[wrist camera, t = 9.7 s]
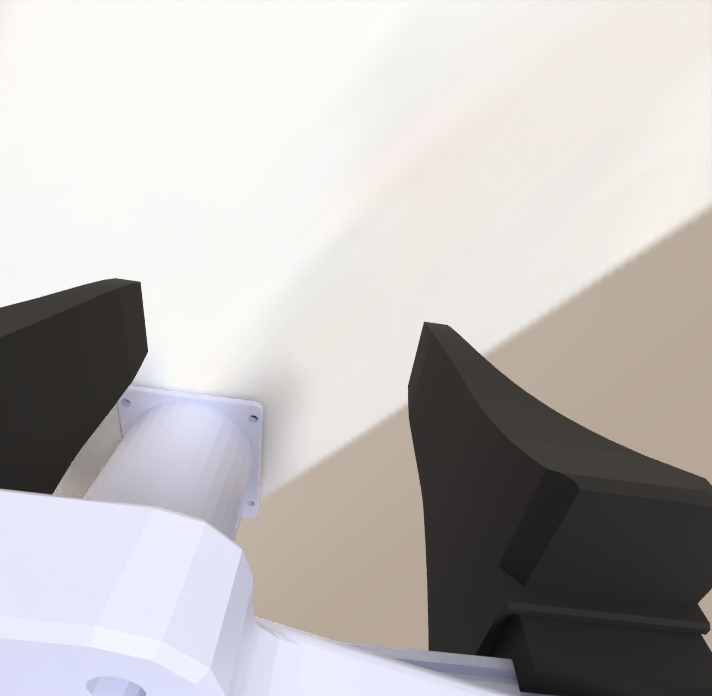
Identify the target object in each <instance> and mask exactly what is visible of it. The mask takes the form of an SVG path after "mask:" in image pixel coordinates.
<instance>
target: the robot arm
mask: <svg viewBox="0 0 712 696" xmlns="http://www.w3.org/2000/svg"><path fill="white" fill-rule="evenodd" d="M147 353H148V346H147V337H146V328H145V319H144V310H143V301H142V292H141V282H138V281H131V280H123V279H116V278H115V279H107V280H102V281H98V282H93V283H89V284H86V285H82V286H78V287H75V288H71V289H68V290H64V291H61V292H57V293H54V294H50V295H47V296H43V297H40V298H36V299H32V300H28V301H25V302H21V303H17V304H13V305H9V306H5V307H1V308H0V696H712V652H711V650H710V649H709V647H708V646H707V644H706V642H705V640H704V639H703V637H702V635H701V634H705V635H706V634H707V633H708V632H709V631H710V623H709V621H708V620H707V618H706V617H705V615H704V613H703V612H702V610H701V609H700V607H699V605H698V603H699V601H700V600H701V599H702V598H703V597H704V596H705V595H706V594H707V593H708V592H709V591H710V590H711V589H712V485H711V484H710V483H709V482H708V481H707V480H706V479H705V478H703V477H700V476H697V475H695V474H692V473H689V472H687V471H684V470H681V469H679V468H676V467H673V466H671V465H668V464H666V463H663V462H660V461H658V460H655V459H652V458H650V457H647V456H645V455H642V454H640V453H638V452H635V451H633V450H631V449H629V448H626V447H624V446H622V445H620V444H617V443H615V442H613V441H611V440H608V439H607V438H605V437H603V436H600V435H599V434H597V433H594V432H592V431H590V430H589V429H587V428H585V427H583V426H581V425H579V424H577V423H576V422H574V421H572V420H570V419H568V418H566V417H565V416H563V415H561V414H560V413H558V412H556V411H555V410H553V409H551V408H550V407H548V406H547V405H545V404H544V403H542V402H541V401H539V400H538V399H536V398H535V397H533V396H531V395H530V394H529V393H527V392H526V391H524V390H523V389H522V388H520V387H519V386H517V385H516V384H515V383H514V382H512V381H511V380H510V379H509V378H507V377H506V376H505V375H504V374H502V373H501V372H500V371H499V370H498V369H496V368H495V367H494V366H493V365H492V364H491V363H489V362H488V361H487V360H486V359H485V358H484V357H483V356H482V355H481V354H479V353H478V352H477V351H476V350H475V349H474V348H473V347H472V346H471V345H470V344H469V343H468V342H467V341H465V340H464V339H463V338H462V337H461V336H460V335H459V334H458V333H457V332H456V331H455V330H453V329H452V328H451V327H449V326H448V325H443V324H436V323H429V322H424V325H423V329H422V332H421V336H420V340H419V344H418V348H417V352H416V356H415V360H414V364H413V368H412V372H411V376H410V380H409V384H408V408H409V421H410V428H411V433H412V439H413V445H414V451H415V456H416V462H417V467H418V473H419V479H420V485H421V491H422V498H423V509H424V525H425V541H426V564H427V587H428V588H427V590H428V628H429V651H425V650H415V649H405V648H395V647H385V646H376V645H366V644H356V643H345V642H338V641H334V640H331V639H328V638H324V637H321V636H318V635H315V634H312V633H308V632H305V631H302V630H298V629H295V628H292V627H288V626H285V625H282V624H278V623H275V622H272V621H269V620H266V619H262V618H259V617H256V616H254V615H253V609H252V606H253V585H254V579H253V576H252V574H251V571H250V569H249V566H248V564H247V561H246V559H245V556H244V553H243V551H242V549H241V548H240V547H239V546H238V545H237V544H236V543H235V542H234V540H235V537H236V533H237V530H238V526H239V523H240V520H241V518H255V517H257V515H258V512H259V497H260V477H261V457H262V437H263V417H264V407H263V405H262V404H261V403H259V402H257V401H251V400H243V399H235V398H227V397H220V396H212V395H204V394H196V393H188V392H181V391H173V390H165V389H157V388H150V387H142V386H134V385H130V384H131V383H132V381H133V379H134V378H135V376H136V374H137V372H138V370H139V369H140V367H141V365H142V363H143V361H144V359H145V357H146V355H147ZM125 399H126V400H128V401H130V402H127V401H126V400H125ZM116 403H117V405H118V412H119V418H120V424H121V430H122V436H123V439H122V441H121V442H120V444H119V445H118V447H117V448H116V450H115V451H114V452H113V454H112V455H111V457H110V458H109V460H108V461H107V463H106V464H105V466H104V467H103V468H102V470H101V471H100V473H99V474H98V476H97V477H96V479H95V480H94V482H93V483H92V485H91V486H90V487H89V489H88V490H87V492H86V493H85V495H84V496H83V498H77V497H68V496H59V495H52V494H53V492H54V491H55V489H56V487H57V486H58V484H59V482H60V481H61V479H62V477H63V476H64V474H65V472H66V471H67V469H68V467H69V466H70V464H71V462H72V461H73V460H74V458H75V457H76V455H77V454H78V452H79V451H80V450H81V448H82V447H83V446H84V444H85V443H86V442H87V440H88V439H89V438H90V436H91V435H92V434H93V433H94V431H95V430H96V429H97V427H98V426H99V425H100V424H101V422H102V421H103V420H104V418H105V417H106V416H107V414H108V413H109V412H110V411H111V409H112V408H113V407H114V405H115V404H116ZM251 415H254V416H256V417H257V418H253V417H251Z"/></svg>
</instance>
